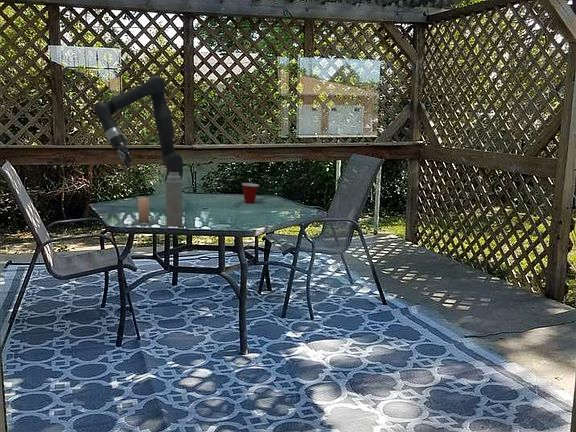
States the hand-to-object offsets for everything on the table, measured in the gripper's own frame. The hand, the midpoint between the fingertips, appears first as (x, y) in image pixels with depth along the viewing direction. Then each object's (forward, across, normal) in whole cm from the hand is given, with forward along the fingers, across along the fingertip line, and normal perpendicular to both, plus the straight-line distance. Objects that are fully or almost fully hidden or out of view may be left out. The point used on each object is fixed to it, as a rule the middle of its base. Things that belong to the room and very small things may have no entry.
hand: (129, 164), depth 321 cm
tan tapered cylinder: (+31, +1, -7) cm, 32 cm away
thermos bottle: (+40, +10, +4) cm, 42 cm away
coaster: (+32, +1, -7) cm, 32 cm away
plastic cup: (+37, -44, +67) cm, 89 cm away
